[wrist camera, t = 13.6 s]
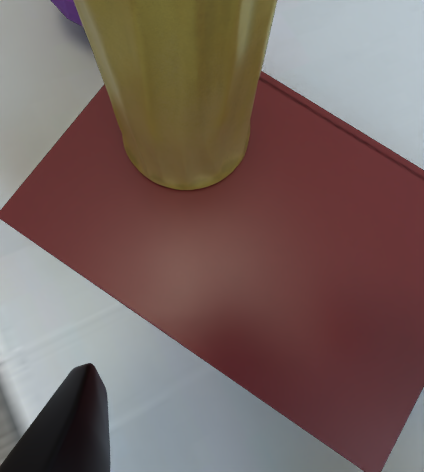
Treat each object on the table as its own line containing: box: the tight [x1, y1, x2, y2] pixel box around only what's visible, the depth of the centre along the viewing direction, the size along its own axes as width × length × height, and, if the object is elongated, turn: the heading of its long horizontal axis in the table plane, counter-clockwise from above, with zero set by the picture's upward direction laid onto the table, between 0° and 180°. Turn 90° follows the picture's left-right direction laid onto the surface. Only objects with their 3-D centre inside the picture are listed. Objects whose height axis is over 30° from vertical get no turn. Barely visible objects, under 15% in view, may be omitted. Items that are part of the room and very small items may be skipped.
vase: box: [73, 0, 277, 190], centre depth 10 cm, size 6×6×14 cm
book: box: [0, 71, 424, 472], centre depth 18 cm, size 20×13×3 cm, turn 56°
